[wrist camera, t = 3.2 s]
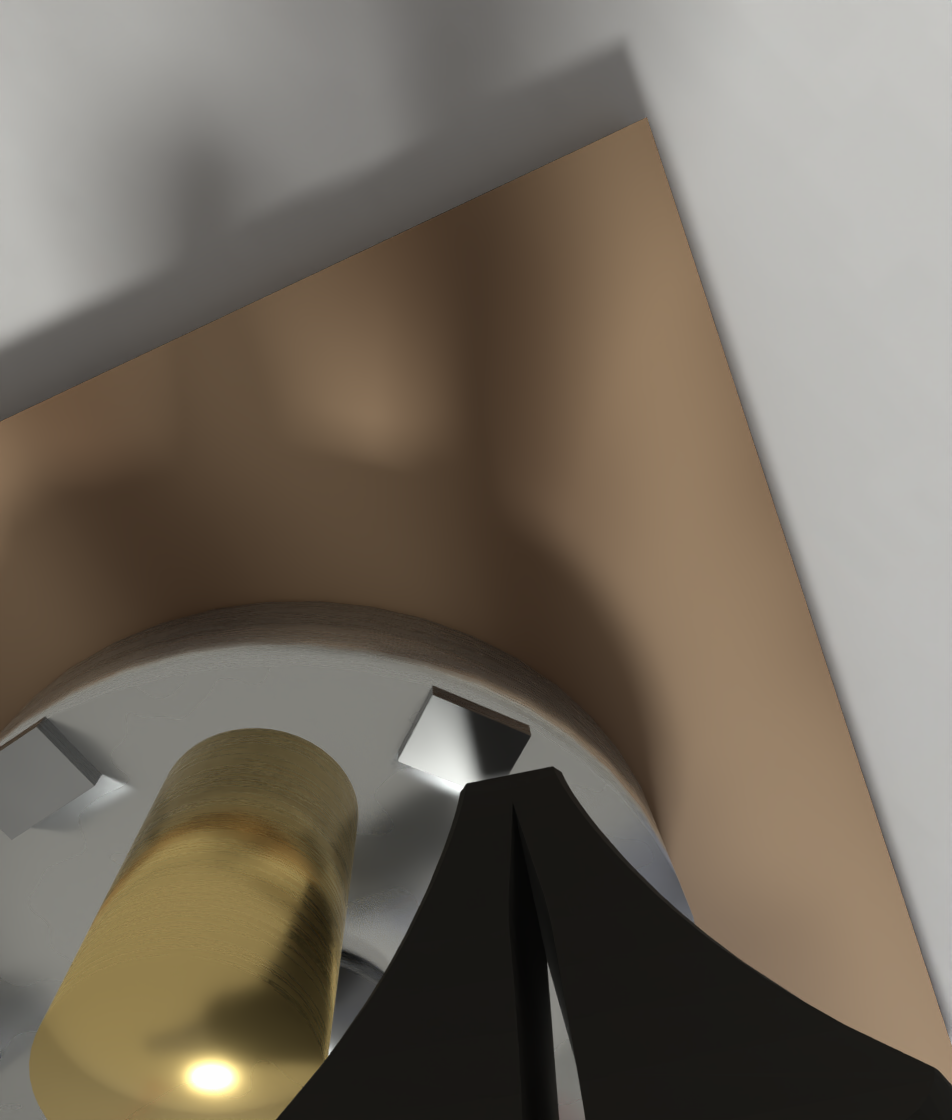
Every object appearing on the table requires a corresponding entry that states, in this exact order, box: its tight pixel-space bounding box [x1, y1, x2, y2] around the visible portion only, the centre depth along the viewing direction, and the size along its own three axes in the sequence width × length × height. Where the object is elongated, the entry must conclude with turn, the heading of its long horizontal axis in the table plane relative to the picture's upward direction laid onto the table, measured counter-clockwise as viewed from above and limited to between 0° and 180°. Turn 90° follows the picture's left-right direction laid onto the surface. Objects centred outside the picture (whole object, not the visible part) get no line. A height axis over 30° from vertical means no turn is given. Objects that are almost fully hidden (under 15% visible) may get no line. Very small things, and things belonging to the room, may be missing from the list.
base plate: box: [0, 117, 952, 1085], centre depth 17 cm, size 22×22×1 cm
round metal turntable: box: [0, 601, 695, 1120], centre depth 14 cm, size 14×14×7 cm
